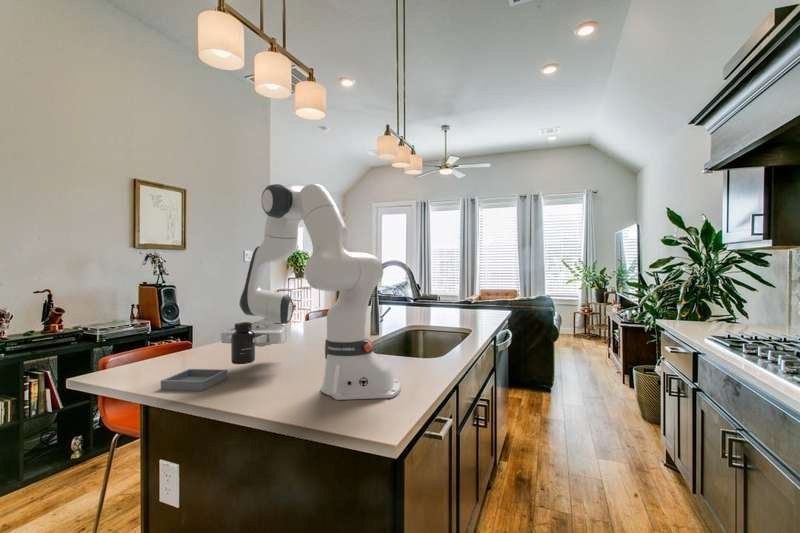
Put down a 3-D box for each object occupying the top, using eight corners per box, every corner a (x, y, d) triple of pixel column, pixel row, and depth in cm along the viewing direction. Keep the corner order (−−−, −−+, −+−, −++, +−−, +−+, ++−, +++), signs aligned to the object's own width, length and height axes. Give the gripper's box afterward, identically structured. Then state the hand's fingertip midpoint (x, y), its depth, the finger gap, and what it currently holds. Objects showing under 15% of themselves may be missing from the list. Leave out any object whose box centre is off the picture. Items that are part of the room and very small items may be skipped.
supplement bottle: (246, 365, 113) (246, 324, 113) (226, 364, 114) (225, 324, 114) (259, 359, 120) (259, 321, 120) (240, 359, 121) (239, 321, 121)
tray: (227, 377, 119) (227, 369, 119) (202, 390, 106) (202, 381, 106) (189, 376, 120) (189, 368, 120) (160, 389, 107) (160, 380, 107)
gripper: (233, 323, 131) (209, 330, 117) (290, 323, 129) (273, 330, 115) (233, 342, 131) (209, 351, 117) (290, 342, 129) (273, 351, 115)
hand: (241, 340), depth 116 cm, fingers closed on supplement bottle, 7 cm apart
